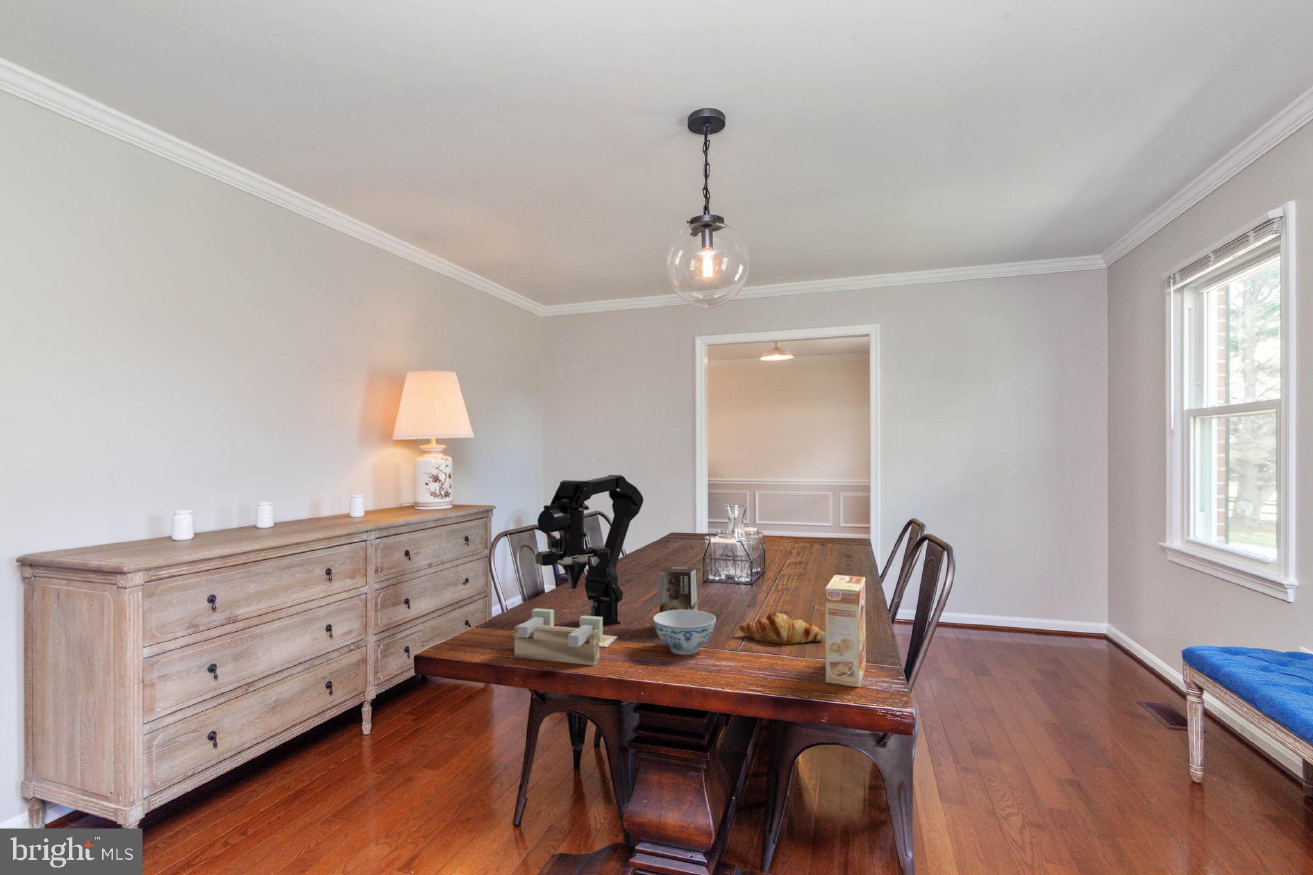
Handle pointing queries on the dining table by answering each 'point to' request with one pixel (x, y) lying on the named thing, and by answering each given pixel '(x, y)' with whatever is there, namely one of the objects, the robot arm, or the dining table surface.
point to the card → (606, 640)
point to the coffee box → (678, 588)
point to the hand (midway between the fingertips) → (573, 588)
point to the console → (556, 646)
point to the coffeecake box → (845, 630)
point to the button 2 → (585, 630)
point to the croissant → (781, 630)
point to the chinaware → (684, 629)
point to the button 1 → (536, 621)
